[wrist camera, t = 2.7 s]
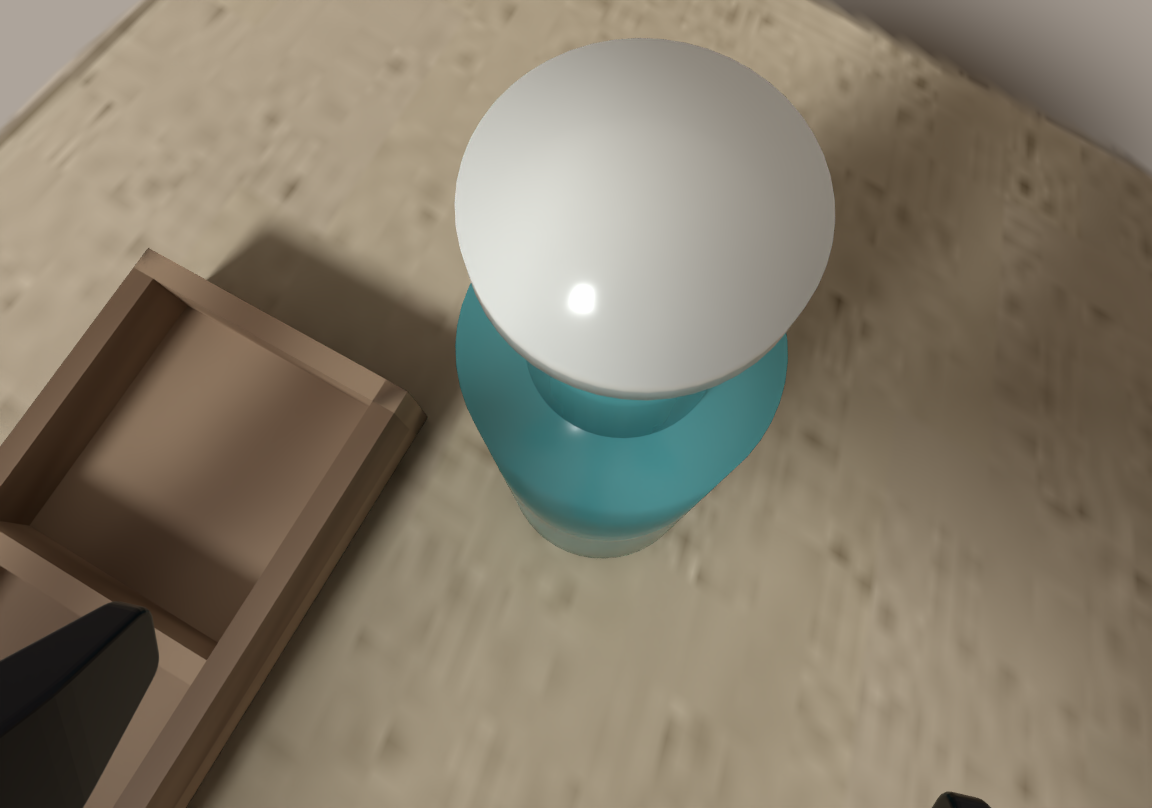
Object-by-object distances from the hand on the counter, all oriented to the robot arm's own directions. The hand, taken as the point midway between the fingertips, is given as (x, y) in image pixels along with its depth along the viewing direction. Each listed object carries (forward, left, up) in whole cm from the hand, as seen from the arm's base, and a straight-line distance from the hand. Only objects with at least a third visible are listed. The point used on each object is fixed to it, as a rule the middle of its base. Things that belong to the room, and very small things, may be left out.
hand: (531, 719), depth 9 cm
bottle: (+1, -5, -11) cm, 13 cm away
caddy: (+10, +4, -11) cm, 16 cm away
